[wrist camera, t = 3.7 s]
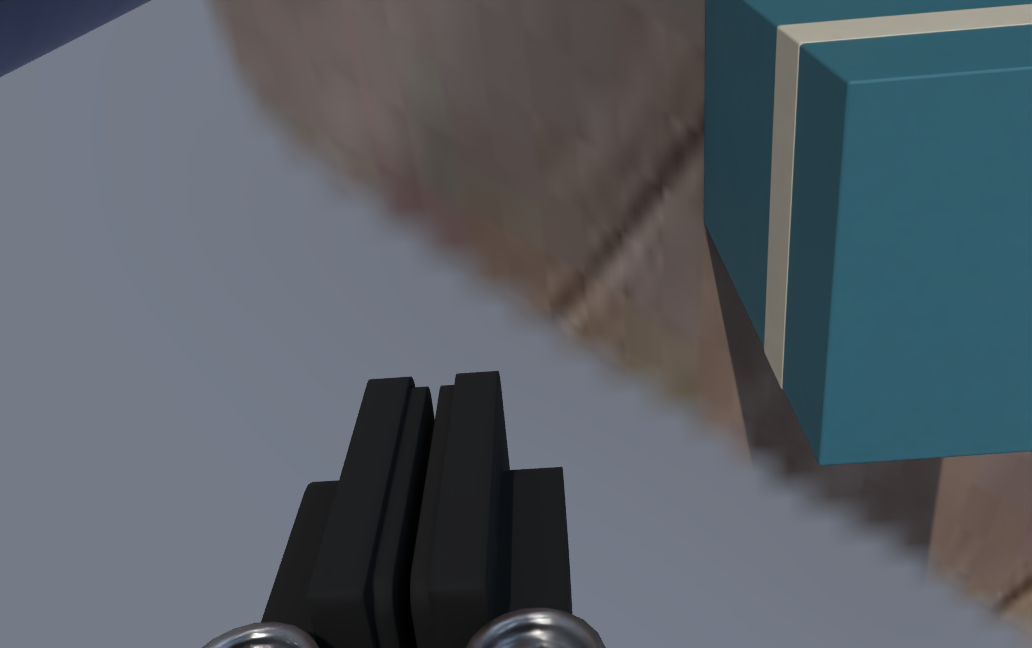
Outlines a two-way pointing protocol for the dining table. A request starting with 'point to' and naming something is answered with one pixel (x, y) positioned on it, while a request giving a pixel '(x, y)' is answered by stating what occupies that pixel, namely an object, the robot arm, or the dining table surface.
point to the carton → (879, 214)
